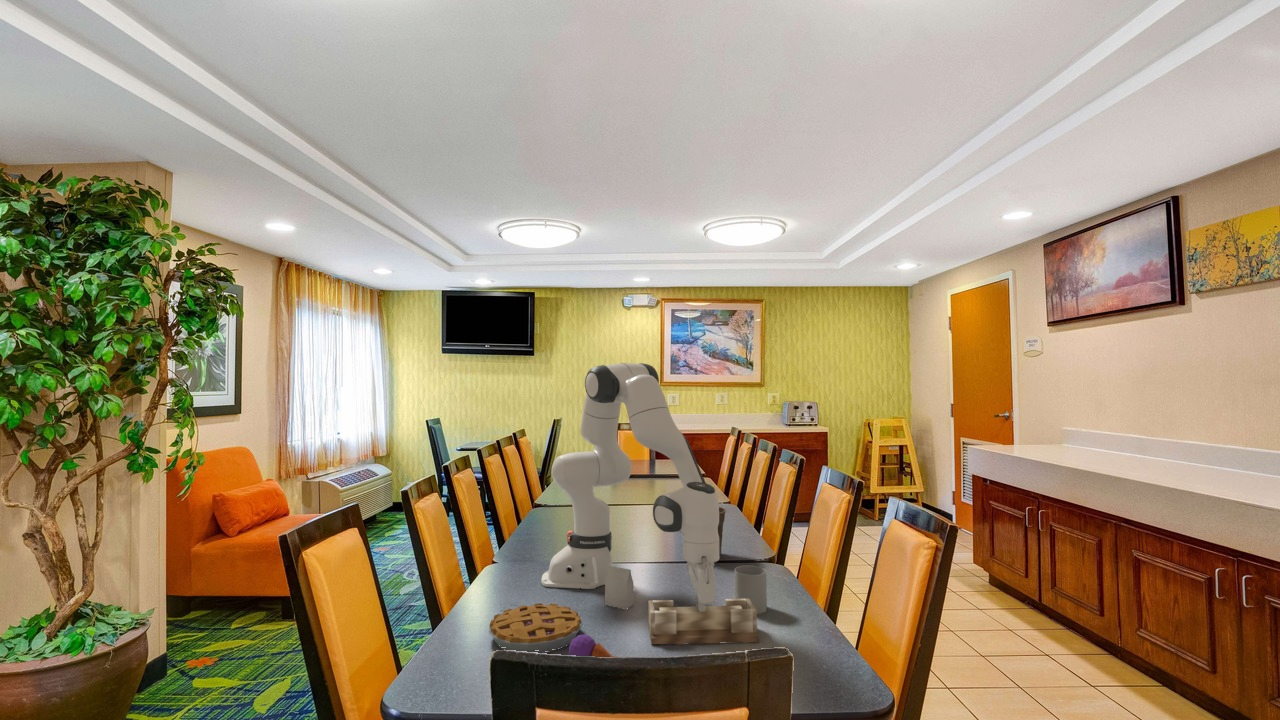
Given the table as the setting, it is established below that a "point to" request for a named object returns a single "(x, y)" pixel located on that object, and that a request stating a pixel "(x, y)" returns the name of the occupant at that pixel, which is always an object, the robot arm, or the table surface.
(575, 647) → the ice cream cone
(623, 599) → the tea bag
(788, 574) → the table surface
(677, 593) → the table surface
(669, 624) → the endcap rack
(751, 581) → the cup
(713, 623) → the slat
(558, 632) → the pie
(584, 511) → the robot arm
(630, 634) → the table surface
